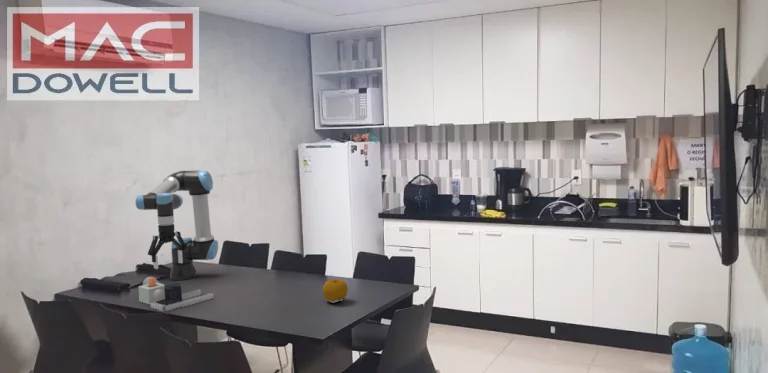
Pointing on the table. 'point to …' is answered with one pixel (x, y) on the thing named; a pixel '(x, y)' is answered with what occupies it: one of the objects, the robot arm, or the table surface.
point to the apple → (335, 290)
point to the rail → (161, 307)
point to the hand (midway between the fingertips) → (168, 265)
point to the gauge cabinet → (151, 293)
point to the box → (172, 293)
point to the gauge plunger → (152, 282)
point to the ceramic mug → (147, 281)
